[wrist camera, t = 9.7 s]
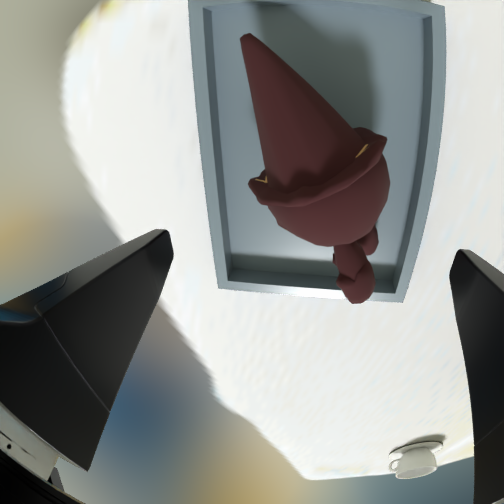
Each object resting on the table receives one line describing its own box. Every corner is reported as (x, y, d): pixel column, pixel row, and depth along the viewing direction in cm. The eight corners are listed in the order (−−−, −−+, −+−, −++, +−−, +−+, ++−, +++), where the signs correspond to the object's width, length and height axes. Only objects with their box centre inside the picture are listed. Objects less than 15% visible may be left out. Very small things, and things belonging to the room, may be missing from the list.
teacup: (450, 436, 36) (452, 460, 32) (431, 455, 41) (432, 476, 38) (395, 442, 38) (396, 468, 35) (383, 460, 44) (382, 482, 40)
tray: (432, 11, 11) (444, 6, 10) (398, 284, 22) (402, 302, 20) (200, 2, 14) (187, -3, 12) (225, 272, 25) (218, 288, 23)
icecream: (141, 92, 11) (299, 323, 18) (296, -7, 7) (423, 315, 14) (217, 58, 16) (324, 245, 23) (329, 1, 11) (422, 229, 18)
